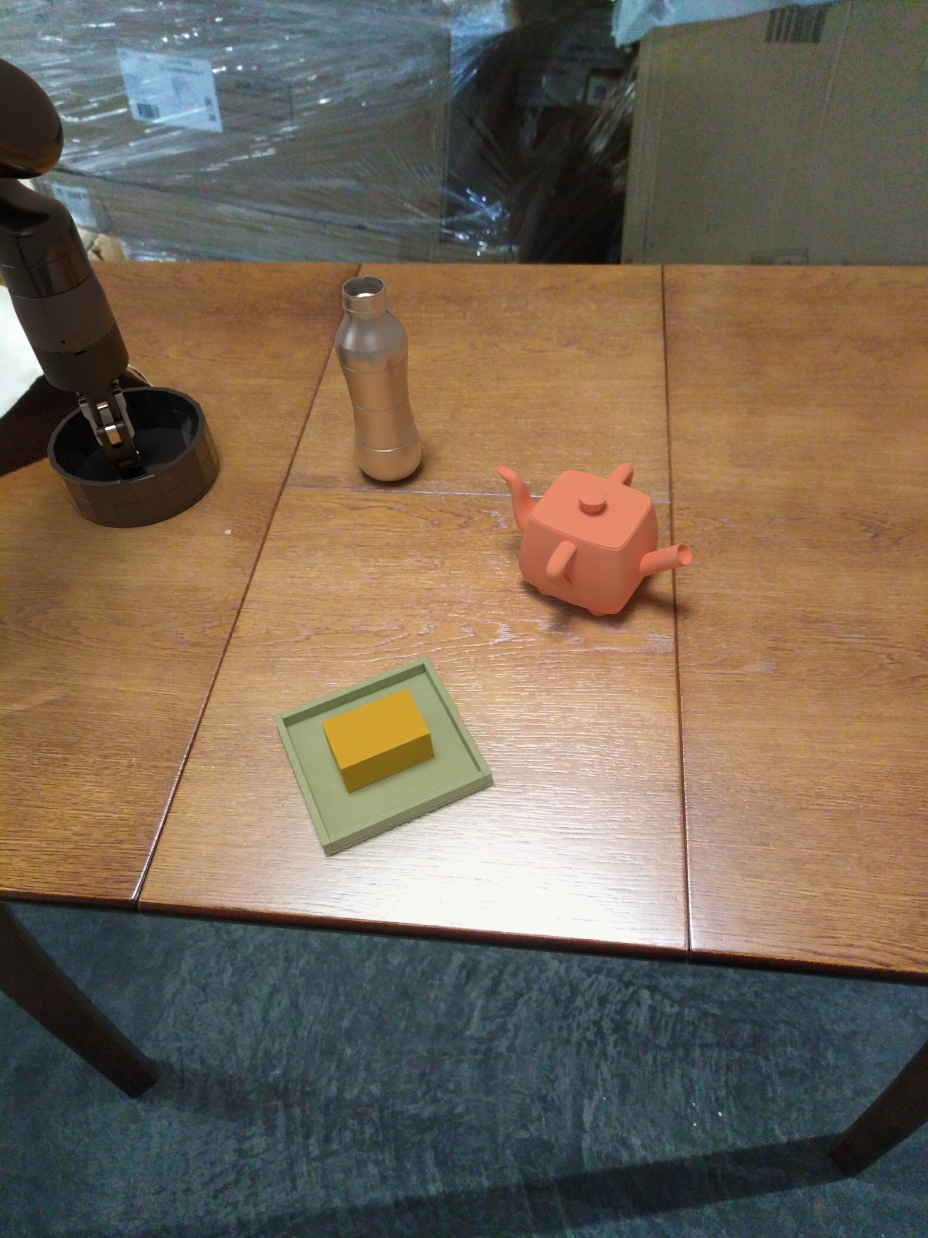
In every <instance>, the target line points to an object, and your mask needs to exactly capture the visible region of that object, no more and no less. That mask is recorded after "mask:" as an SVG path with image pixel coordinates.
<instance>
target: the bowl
mask: <svg viewBox="0 0 928 1238" xmlns="http://www.w3.org/2000/svg"><path fill="white" fill-rule="evenodd" d="M121 390H122V394H123V396H124V399H125V402H126V411H127V414H128V416H129V419H130V421H131V424H132V426H133V429H134V432H135V435H134V437H133V438H132V439H133V441H134V444H135V446H136V448H137V451H138V452H139V454H140V458H141V462H140V463H141V466H142V468H143V470H144V473H145V474H144V475H141V476H138V477H135V478H132V479H127V480H122V478H121V476H120V474H119V472H118V473H116V472H115V470H113V469H112V466H111V465H112V464H111V462H110V459H109V457H108V455H107V453H106V451H105V449H104V447H103V446H101V445H100V444H99V443H98V440H97V438H96V436H95V433H94V431H93V429H92V426H91V424H90V421H89V420H88V419H87V418H85V416H84V414H83V412H82V410H81V407H80V406H79V407H77V408H76V409H75V410H73V411H72V412H70V413H69V414H68V415H66V416H65V417H64V418H63V419H62V420H61V422H60V423H59V424H58V426H57V427H56V428H55V429H54V431H53V432H52V433H51V435H50V438H49V442H48V445H47V449H46V452H47V457H48V462H49V465H50V467H51V468H52V470H53V472H54V475H55V477H56V478H57V480H58V482H59V484H60V485H61V488H62V489H63V491H64V494H65V495H66V496H67V498H68V501H69V502H70V504H71V505H72V506H73V507H74V509H75V510H76V512H77V513H79V515H81V516H82V517H83V518H85V519H86V520H88V521H90V522H91V523H94V524H98V525H101V526H105V527H110V528H137V527H143V526H148V525H153V524H156V523H159V522H163V521H165V520H168V519H170V518H173V517H175V516H178V515H179V514H181V513H182V512H184V511H186V510H188V509H189V508H190V507H192V506H193V505H196V503H198V501H200V500H201V499H202V498H203V497H204V496H205V495H206V494H207V493H208V491H210V489H211V487H212V486H213V485H214V482H215V480H216V479H217V476H218V473H219V468H220V461H219V454H218V450H217V448H216V445H215V441H214V439H213V436H212V433H211V430H210V427H209V424H208V421H207V418H206V416H205V413H204V411H203V409H202V407H201V405H200V403H199V402H197V401H196V400H195V399H194V398H193V397H192V396H190V394H188V393H185V392H182V391H180V390H177V389H174V388H171V387H164V386H163V387H162V386H152V385H148V386H138V387H137V386H136V387H129V388H123V389H122V388H121ZM96 422H97V421H96ZM97 424H98V423H97ZM124 424H125V423H124ZM98 427H100V426H99V425H98Z"/></svg>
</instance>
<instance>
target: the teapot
mask: <svg viewBox="0 0 928 1238" xmlns="http://www.w3.org/2000/svg"><path fill="white" fill-rule="evenodd" d="M494 470H495V471H496V473H497V474H498V475H499V476H500V477H501V478H502V479H503V480H504V482H505V483H506V484H507V485H506V486H508V489H509V492H510V496H511V504H512V512H513V518H514V522H515V524H516V527H517V528H518V529H519V531H520V532H521V533H522V537H521V542H520V546H519V553H518V566H519V570H520V572H521V575H522V577H523V578H524V579H525V581H526V582H527V583H529V584H530V585H532V586H534V587H535V588H537V590H538V592H539V593H541V594H542V595H544V596H553V597H555V598H557V599H559V600H561V601H563V602H566V603H568V604H571V605H575V606H577V607H580V608H584V609H587V610H588V612H589V613H590V614H591V615H595V616H598V617H602V616H603V617H604V616H606V615H608V614H609V615H615V614H618V613H619V612H620V611H622V610H623V608H624V607H625V605H626V604H627V603H628V602H629V600H630V598H632V596H633V595H634V593H635V592H636V590H637V588H638V587H639V585H640V584H641V583H642V581H643V580H644V578H645V577H647V576H651V575H656V574H659V573H662V572H667V571H671V570H674V569H679V568H683V567H687V566H689V565H691V564H692V561H693V552H692V550H691V548H690V546H689V545H688V544H687V543H685V542H680V543H677V544H674V545H671V546H667V547H663V548H660V549H658V544H659V542H658V541H659V527H658V518H657V512H656V508H655V503H654V500H653V499H652V497H650V496H649V495H647V494H645V493H643V492H641V491H639V490H637V489H635V488H633V487H631V486H632V482H633V478H634V473H635V472H634V471H635V470H634V467H633V466H632V465H631V464H630V463H627V462H623V463H620V464H618V465H616V467H615V468H614V469H613V470H612V471H611V473H610V474H609V475H608V476H607V477H603V476H600V475H596V474H593V473H588V472H585V471H584V472H583V471H579V470H573V469H566V470H564V471H563V472H561V473H560V475H558V476H557V477H556V479H555V480H554V481H553V482H552V484H551V485H550V486H549V487H548V489H547V490H546V491H545V493H544V494H543V495H542V496H541V497H540V499H539V500H538V502H537V503H536V501H535V500H534V499H533V497H532V496H531V494H530V492H529V490H528V488H527V486H526V484H525V481H524V480H523V478H522V477H521V476H520V475H519V473H517V471H515V470H513V469H511V468H510V467H508V466H506V465H501V464H496V465H495V466H494Z"/></svg>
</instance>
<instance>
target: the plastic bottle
mask: <svg viewBox="0 0 928 1238" xmlns="http://www.w3.org/2000/svg"><path fill="white" fill-rule="evenodd" d="M341 294H342V296H341V297H342V299H343V300H342V308H343V309H342V310H343V311H344V313H345V315H344V317H343V318H342V319H341V321H340V323H339V325H338V327H337V329H336V330H335V334H334V342H333V346H334V350H335V356H336V357H337V361H338V363H339V366H340V369H341V371H342V373H343V376H344V380H345V381H346V387H347V390H348V393H349V396H350V401H351V405H352V412H353V423H354V437H353V438H354V441H353V444H354V455H355V457H356V460H357V462H358V465H359V468H360V469H361V470H362V471H363V472H364V473H365V474H366V475H368V476H369V477H371V478H372V479H374V480H376V481H379V482H397V481H401V480H403V479H406V478H407V477H410V476H411V475H412V474H414V472H415V470H416V469H417V468H419V465H420V463H421V462H422V454H423V452H422V451H423V450H422V449H423V443H422V440H421V435H420V433H419V430H418V427H417V425H416V423H415V418H414V415H413V411H412V407H411V402H410V394H409V393H410V392H409V378H408V362H409V339H408V334H407V332H406V330H405V328H404V325H403V324H402V323H401V321H399V320H398V318H397V317H396V316H395V315H394V314H393V313H392V312H391V311H390V310H389V309H388V308H389V303H390V302H389V297H388V296H387V288H386V284H385V282H384V280H383V279H381V278H380V277H377V276H375V275H374V276H373V275H360V276H355V277H351V278H350V279H348V280H346V281H345V282H344V283H343V285H341Z"/></svg>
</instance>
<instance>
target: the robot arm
mask: <svg viewBox="0 0 928 1238" xmlns="http://www.w3.org/2000/svg"><path fill="white" fill-rule="evenodd" d="M64 134H65V132H64V126H63V124H62V120H61V117H60V114H59V112H58V110H57V108H56V106H55V104H54V102H53V101H52V99H51V97H50V96H49V95H48V93H47V92H46V90H44V88H43V87H42V86H41V85H40V84H39V83H38V81H36V80H35V79H34V78H33V77H31V75H29V74H28V73H26V71H24V70H22V69H21V68H19V67H18V66H16V65H14V64H13V63H10V61H7V60H5V59H4V58H2V57H0V276H1V278H2V281H3V283H4V284H5V287H6V289H7V292H8V294H9V297H10V300H11V304H12V307H13V310H14V312H15V315H16V317H17V320H18V322H19V324H20V326H21V328H22V331H23V332H24V334H25V337H26V339H27V341H28V343H29V345H30V347H31V349H32V351H33V354H34V356H35V358H36V360H37V362H38V365H39V366H40V368H41V371H42V373H43V375H44V377H45V379H46V380H47V382H48V383H49V384H50V385H51V386H52V387H54V388H55V389H58V390H60V391H63V392H69V393H72V392H73V393H76V396H77V398H78V400H77V402H78V405H79V407H81V410H82V412H83V414H84V416H85V418H87V419H88V420H89V421H90V424H91V426H92V429H93V431H94V433H95V436H96V438H97V440H98V443H99V444H100V445H101V446H103V447H104V449H105V451H106V453H107V455H108V457H109V459H110V462H111V464H112V465H111V466H112V469H113V470H115V472H116V473H118V472H119V474H120V476H121V478H122V480H127V479H132V478H135V477H138V476H141V475H144V474H145V473H144V470H143V468H142V466H141V463H140V462H141V458H140V454H139V452H138V451H137V448H136V446H135V444H134V441H133V439H132V438H133V437H134V435H135V432H134V429H133V426H132V424H131V421H130V419H129V416H128V414H127V411H126V402H125V399H124V396H123V394H122V388H121V385H120V382H119V379H120V377H122V375H123V374H124V373H125V372H126V370H127V369H128V366H129V363H130V355H129V352H128V349H127V347H126V344H125V341H124V338H123V335H122V334H121V331H120V328H119V326H118V323H117V321H116V317H115V315H114V313H113V310H112V307H111V304H110V302H109V300H108V297H107V294H106V292H105V289H104V287H103V285H102V284H101V281H100V279H99V278H98V275H97V274H96V272H95V270H94V268H93V266H92V264H91V263H92V262H91V261H90V258H89V255H88V253H87V250H86V248H85V246H84V243H83V240H82V238H81V235H80V233H79V230H78V227H77V224H76V223H75V220H74V218H73V216H72V214H71V212H70V210H69V209H68V208H67V206H66V205H65V203H63V202H62V201H61V200H58V199H56V198H55V197H53V196H50V195H48V194H45V193H43V192H39V191H37V190H34V189H32V188H30V187H27V186H26V185H25V184H24V183H22V182H21V181H20V180H32V179H33V180H34V179H37V178H40V177H43V176H45V175H47V174H49V172H51V171H52V170H53V169H54V168H55V167H56V166H57V164H58V163H59V161H60V159H61V157H62V154H63V151H64V145H65V144H64V143H65V135H64ZM96 421H97V422H96ZM97 423H98V424H97ZM124 423H125V424H124ZM98 425H99V426H100V427H98Z"/></svg>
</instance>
